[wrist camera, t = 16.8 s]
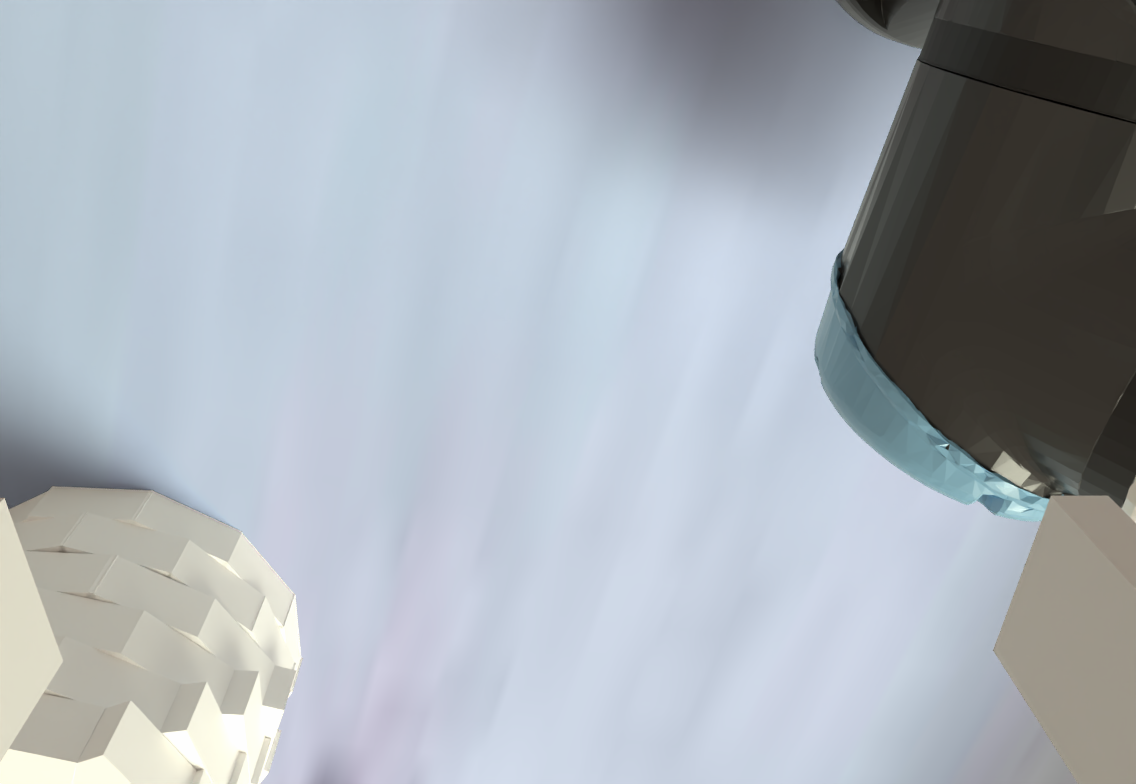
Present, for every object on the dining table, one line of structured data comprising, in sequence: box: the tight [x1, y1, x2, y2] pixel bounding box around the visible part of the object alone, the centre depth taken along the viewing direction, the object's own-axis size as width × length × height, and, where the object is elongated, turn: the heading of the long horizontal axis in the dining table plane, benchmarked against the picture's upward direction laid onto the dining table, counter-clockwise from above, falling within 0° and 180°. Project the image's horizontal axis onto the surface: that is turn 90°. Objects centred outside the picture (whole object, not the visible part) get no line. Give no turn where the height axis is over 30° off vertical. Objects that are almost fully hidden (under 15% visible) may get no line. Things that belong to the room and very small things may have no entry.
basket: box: [0, 486, 303, 784], centre depth 51 cm, size 25×24×19 cm
